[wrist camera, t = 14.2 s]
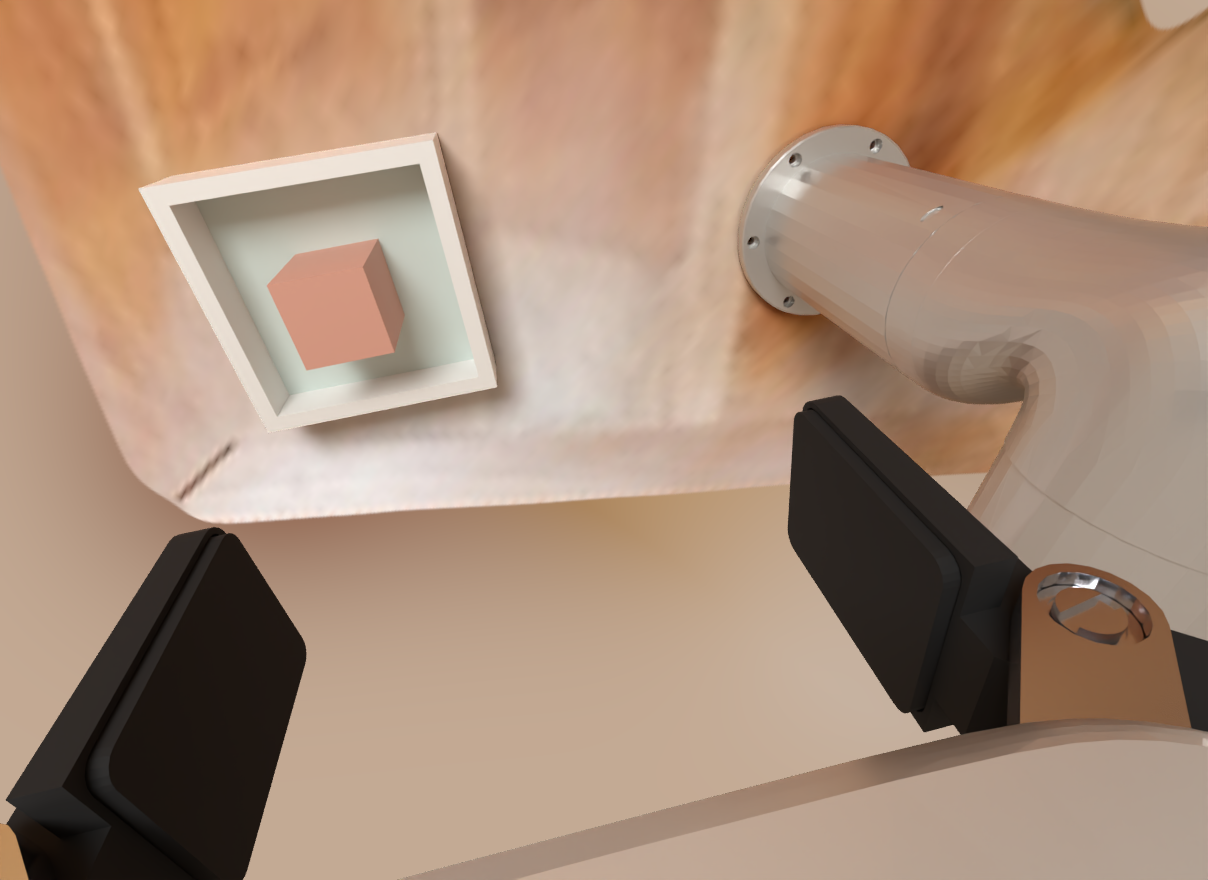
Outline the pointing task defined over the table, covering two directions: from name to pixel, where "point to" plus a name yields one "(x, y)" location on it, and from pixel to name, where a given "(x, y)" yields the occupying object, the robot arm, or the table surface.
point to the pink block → (339, 304)
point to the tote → (318, 221)
